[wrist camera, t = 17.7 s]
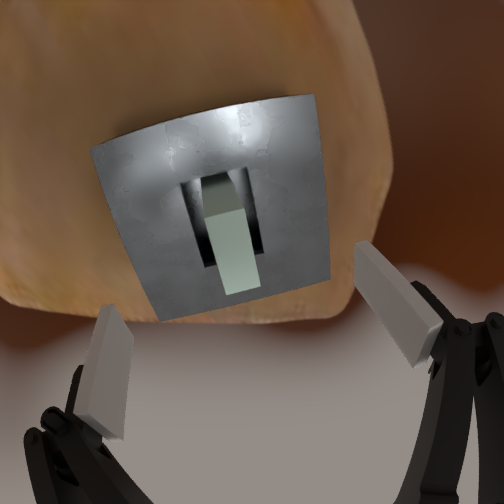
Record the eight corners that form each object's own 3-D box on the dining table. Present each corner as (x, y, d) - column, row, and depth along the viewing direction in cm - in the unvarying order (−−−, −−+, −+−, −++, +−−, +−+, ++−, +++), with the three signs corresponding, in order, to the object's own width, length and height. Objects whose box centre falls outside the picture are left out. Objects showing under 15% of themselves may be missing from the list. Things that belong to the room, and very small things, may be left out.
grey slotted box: (164, 282, 34) (160, 321, 28) (113, 137, 24) (89, 148, 18) (308, 247, 35) (330, 279, 29) (288, 95, 25) (313, 93, 19)
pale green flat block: (213, 226, 30) (226, 295, 20) (199, 173, 27) (203, 218, 17) (236, 220, 31) (260, 286, 20) (224, 166, 27) (244, 208, 17)
